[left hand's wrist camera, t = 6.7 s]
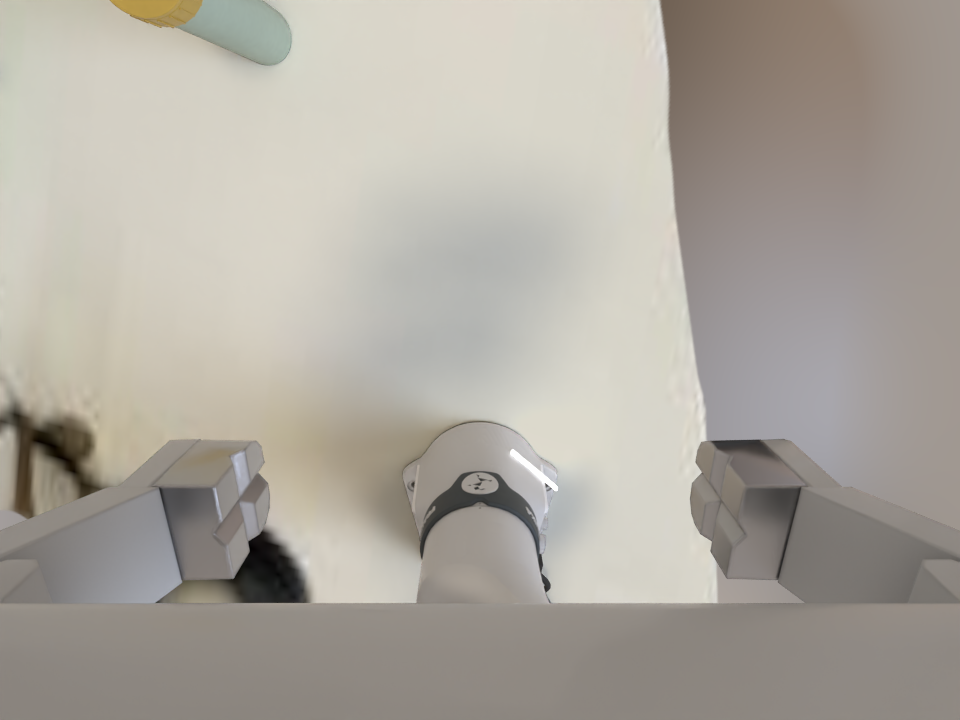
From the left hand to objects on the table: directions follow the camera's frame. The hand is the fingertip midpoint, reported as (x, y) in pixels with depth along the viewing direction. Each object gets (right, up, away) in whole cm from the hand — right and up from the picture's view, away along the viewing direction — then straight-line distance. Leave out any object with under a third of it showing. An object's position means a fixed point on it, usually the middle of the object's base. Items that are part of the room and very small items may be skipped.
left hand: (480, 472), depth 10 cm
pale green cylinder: (-20, +32, +39) cm, 54 cm away
